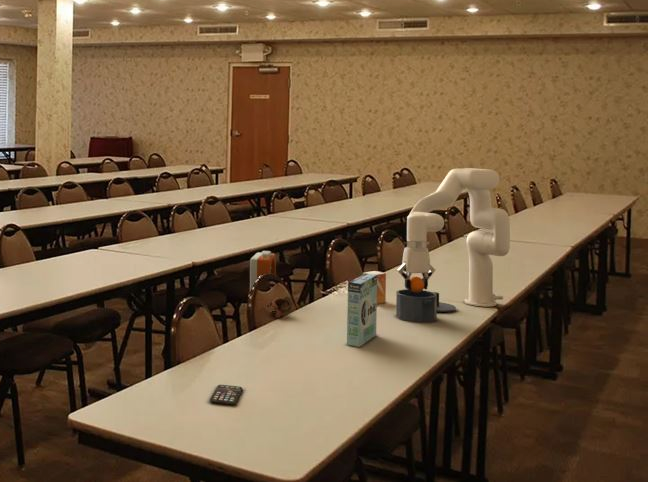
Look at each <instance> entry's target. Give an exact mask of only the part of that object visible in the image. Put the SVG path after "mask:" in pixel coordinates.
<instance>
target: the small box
mask: <svg viewBox="0 0 648 482" xmlns="http://www.w3.org/2000/svg"><path fill="white" fill-rule="evenodd" d="M365 273H367V274H375V275H377V305H378V304H384V303H385V304H386V302H387V301H386V297H387V296H386V295H387V294H386V293H387V291H386V289H387V286H386V285H387V273H386V272H383V271H377V270H373V271H366V272H363V273H362V275H363V274H365Z"/></svg>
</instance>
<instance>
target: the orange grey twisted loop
mask: <svg viewBox="0 0 648 482" xmlns="http://www.w3.org/2000/svg"><path fill="white" fill-rule="evenodd" d="M270 301H271V303H270V306H271V305H272V307H273V308H274V310H275V311H272V312H270V313H271V314H274V313H275V314H274V316H275V318H276V319H279V318H281V317H284V316H287V315H289V314H290V313H291V312H292V311H293V307H292V303H291V301H290V300H289V299H287V298H284V297H276V298H274V300H270ZM285 303H286V304H287V305H288V307H286V308H285V307H283V306H282V305H283V304H285Z"/></svg>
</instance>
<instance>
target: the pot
mask: <svg viewBox="0 0 648 482" xmlns="http://www.w3.org/2000/svg"><path fill="white" fill-rule="evenodd" d="M433 292H434V291H430V290H426V289H423V290H422V291H421V292H418V293H415V292H412V291H411V290H408V289H406V288H404V289H398V290H397V291H396V292H395V295H396V297H395V298H396V299H395V300H396V302H395V304H396V305H395V309H396V310H395V314H396V318H397V319H399V320H402V321H404V322H405V321H406V322H412V323H425V324H426V323H433V322H436V321H437V319H438V317H437V316H438V314H437V313H438V312H437V295H436V294H435V293H433Z"/></svg>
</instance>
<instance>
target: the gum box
mask: <svg viewBox="0 0 648 482" xmlns="http://www.w3.org/2000/svg"><path fill="white" fill-rule="evenodd" d="M364 273H365V272H364ZM377 305H378V304H377V275H375V274H367V273H365V274H363V273H362V274H361V275H360V276H358V277H355V278H354V279H352V280H349V281H348V282H347V316H346V317H347V318H346V320H347V321H346V322H347V323H346V346H350V347H357V348H360V347H362V346H363V345H365V344H366V343H367V342H368V341H370V340H371V339H373V338H374V337H376V336H377V317H378V316H377V313H378V311H377V309H378V308H377V307H378V306H377Z"/></svg>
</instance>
